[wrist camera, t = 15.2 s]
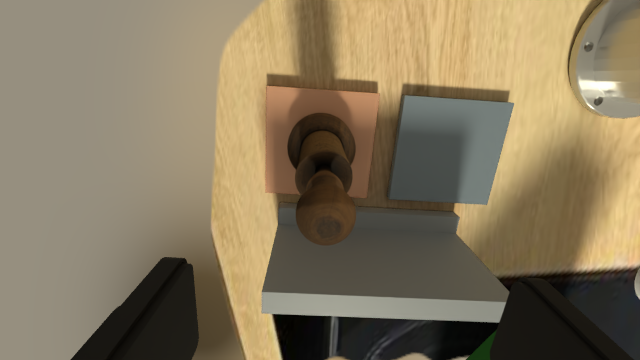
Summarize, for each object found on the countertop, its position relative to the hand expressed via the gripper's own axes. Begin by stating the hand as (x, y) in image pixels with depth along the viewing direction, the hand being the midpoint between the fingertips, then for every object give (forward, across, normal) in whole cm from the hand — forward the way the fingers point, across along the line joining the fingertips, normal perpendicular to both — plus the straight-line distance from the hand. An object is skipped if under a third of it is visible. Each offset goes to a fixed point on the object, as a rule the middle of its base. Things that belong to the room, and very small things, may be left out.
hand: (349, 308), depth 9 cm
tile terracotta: (+24, +1, 0) cm, 24 cm away
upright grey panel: (+24, -5, +10) cm, 27 cm away
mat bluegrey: (+24, -13, 0) cm, 27 cm away
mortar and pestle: (+23, +1, 0) cm, 23 cm away
